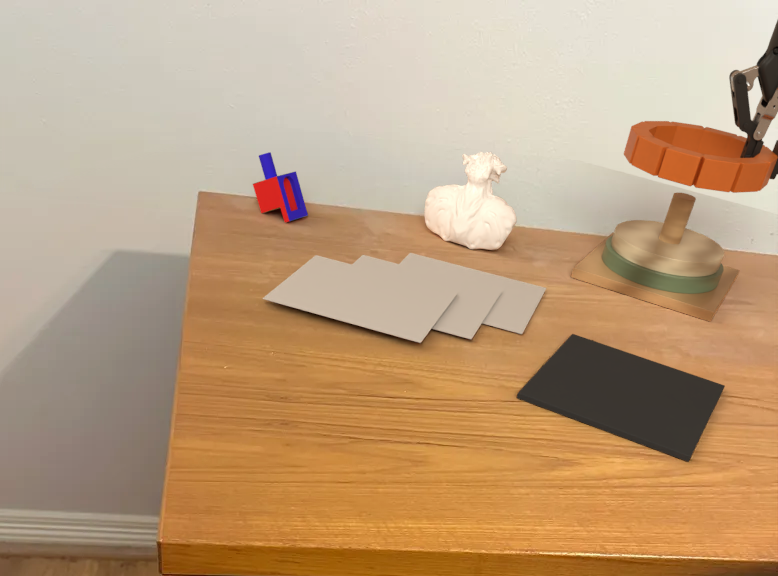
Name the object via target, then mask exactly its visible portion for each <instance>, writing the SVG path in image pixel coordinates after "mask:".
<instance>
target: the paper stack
mask: <svg viewBox="0 0 778 576" xmlns="http://www.w3.org/2000/svg"><path fill="white" fill-rule="evenodd" d="M546 290H547V287H544V286H541V285H537V284H533V283H529V282H525V281H521V280H519V279H515V278H510V277H506V276H502V275H498V274H494V273H492V272H486V271H483V270H479V269H475V268H471V267H467V266H464V265H459V264H456V263H453V262H449V261H444V260H441V259H436V258H433V257H429V256H426V255H421V254H417V253H413V252H409V253H408V254H407V255H406V256H405V257H404V258H403V259H402V260H401V261H400V262H399V263H396V262H393V261H389V260H386V259H382V258H377V257H373V256H370V255H367V254H362V255H361V256H360V257H358V258H357V259H356V260H355V261H354V262H353V263H349V262H344V261H341V260H336V259H333V258H329V257H325V256H321V255H317V254H315V255H314V256H313V257H311V258H310V259H309V260H308V261H307V262H305V263H304V264H303V265H301V266H300V267H299V268H298V269H296V271H294V272H293V273H292V274H291V275H289V276H288V277H287V278H286V279H284V280H283V281H282V282H280V283H279V284H278V285H277V286H276V287H275V288H273V289H272V290H271V291H269V292H268V293H267V294H266V295H264V297H262V298H261V299H262V300H265V301H267V302H272V303H275V304H280V305H283V306H286V307H290V308H294V309H298V310H300V311H304V312H309V313H310V314H311V313H312V314H316V315H319V316H322V317H326V318H330V319H334V320H336V321H340V322H344V323H347V324H352V325H354V326H359V327H362V328H365V329H369V330H373V331H375V332H380V333H383V334H387V335H391V336H394V337H398V338H400V339H405V340H407V341H412V342H415V343H419V344H421V343H422V342H423V341H424V339H425V338H426V336H428V334H429V333H430V331H431V330H435V331H439V332H442V333H446V334H450V335H453V336H457V337H460V338H465V339H468V340H473V338H474V336H475V335H476V333H477V331H478V330H479V328H480V327H481V325H487V326H491V327H494V328H498V329H502V330H505V331H508V332H513V333H515V334H519V335H523V333H524V332H525V330H526V327H527V326H528V324H529V322H530V321H531V318H532V317H533V315H534V313H535V311H536V309H537V307H538V305H539V303H540V302H541V300H542V298H543V296H544V293H545V292H546Z"/></svg>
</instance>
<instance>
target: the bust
mask: <svg viewBox="0 0 778 576" xmlns="http://www.w3.org/2000/svg"><path fill="white" fill-rule="evenodd" d="M461 157H462V160H463V162H462V165H463V166H465V168H464V173H465V174H466V176H467V182H466V184H464V185H460V184H456V183H454V184H445V185H437V186H435V187H433V188H432V189H431V190H429V191H428V193H427V195H426V198H425V202H424V209H423V210H424V211H423V215H424V217H423V218H424V222H425V226H426V228H427V229H428V230H429V231H431V232H432V233H434V234H435V235H438V236H439V237H440V238H441V239H442V240H443V241H444V242H451V243H454V244H458V245H461V246H464V247H467V248H468V249H470V250H479V249H482V250H487V251H488V250H489V251H496V250H499V249H500V248H501V247H502V245H503V244H504V243H505V241H506V240H507V238H508V237H509V236H510V234H511V233H512V231H513V229H514V228H515V226H516V223H517V222H518V218H517V215H516V212H515V210H514V207H512V206H511V205H510V204H509V203H507V201H506V200H505V199H504V198H502V197H501V196H498V195H494V194H493V193H494V191H493V187H492V186H493V185H492V184H493V183H492V182H494V183H496V184H500V180H501V179H500V178H501V174H505V173H506V172H507V170H508V166H507V165H505V164H504V163H503V162H502V161H501V158H500V157H499V156H498V155H496V153H492V151H490V152H489V151H486V152H483V151H479V152H477V153H475V154H470V155H467V154H466V153H463V154H462V155H461Z"/></svg>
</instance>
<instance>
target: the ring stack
mask: <svg viewBox="0 0 778 576" xmlns="http://www.w3.org/2000/svg"><path fill="white" fill-rule="evenodd" d="M696 200H697V197H695V196H694V195H692V194H689V193H686V192H674V193H673V194H672V197H671V200H670V203H669V206H668V209H667V212H666V215H665V217H664V221H655V220H647V219H645V220H644V219H634V220H631V219H630V220H625V221H622V222H619V223H618V224H617V225H616V226H615V228H614V231H613V232H611V233H610V234H608V236H606V237H605V239H604V240H602V241H601V242H600V243H599V244H598V245H597V246H596V247H595V248H594V249H593V250H591V251H590V252H589V253H588V254H587V255H586V256H585V257H583V258H582V259H581V260H580V261H579V262H578V263H577V264H576V265H575V266H573V268H572V271H571V275H570V278H572V279H575V280H578V281H581V282H585V283H588V284H591V285H594V286H596V287H599V288H602V289H607V290H609V291H612V292H616V293H619V294H622V295H625V296H628V297H631V298H634V299H638V300H640V301H644V302H646V303H651V304H653V305H656V306H659V307H662V308H666V309H668V310H672V311H675V312H677V313H681V314H685V315H687V316H691V317H694V318H697V319H700V320H703V321H706V322H709V323H711V322H712V320H713V318H714V316H715V315H716V313H717V312H718V310H719V309H720V307H721V305H722V304H723V302H724V300H725V298H726V296H728V294H729V292H730V290H731V288H732V286H733V285H734V284H735V282H736V280H737V278H738V276H739V274H740V269H738V268H734V267H730V266H727V265H724V264H722V262H723V259H724V257H725V251H724V249H723V247H722V246H721V244H719V243H718V242H717V241H715V240H713V239H712V238H710V237H708V236H706V235H704V234H702V233H700V232H698V231H695V230H693V229H690V228H687V226H688V223H689V220H690V217H691V214H692V211H693V209H694V206H695V204H696Z"/></svg>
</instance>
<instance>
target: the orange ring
mask: <svg viewBox="0 0 778 576" xmlns="http://www.w3.org/2000/svg"><path fill="white" fill-rule="evenodd" d="M746 140H747V137H745V136H742V135H738V134H736V133H732V132H728V131H725V130H721V129H717V128H713V127H709V126H706V127H704V126H702V125H701V124H700V125H698V124H694V123H693V124H692V123H684V122H680V121H679V122H678V121H668V120H644V121H640V122H637V123H635V124H633V125H631V127H630V130H629V133H628V137H627V141H626V144H625V147H624V151H623V156H624V157H625V159H626V160H627V162H628V163H629V164H630V165H631V166H632V167H634V168H637V169H639V170H641V171H643V172H645V173H647V174H649V175H651V176H653V177H656V176H657V178H659V179H662V180H665V181H669V182H673V183H675V184H680V185H685V186H688V187H692V186H694V188H696V189H702V190H708V191H709V190H710V191H715V192H716V191H717V192H723V193H732V194H735V193H736V194H737V193H738V194H739V193H756V192H757V193H758V192H761V191H762V190H763V189H764V188H765V187H766V186H768V184H769V181H770V180H771V179H770V176H771V174H772V171H773V169H774V166H775V164H776V161H777V159H778V157H777V155H776V154H775V153H774V152H772V151H773V150H771V148H769V147H768V146H766V145H764V144H763V146H762V149H761V151H760V153H759V154H758V155H756V156H755V157H754V158H740V156H741V153H742V150H743V148H744V145H745V142H746Z"/></svg>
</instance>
